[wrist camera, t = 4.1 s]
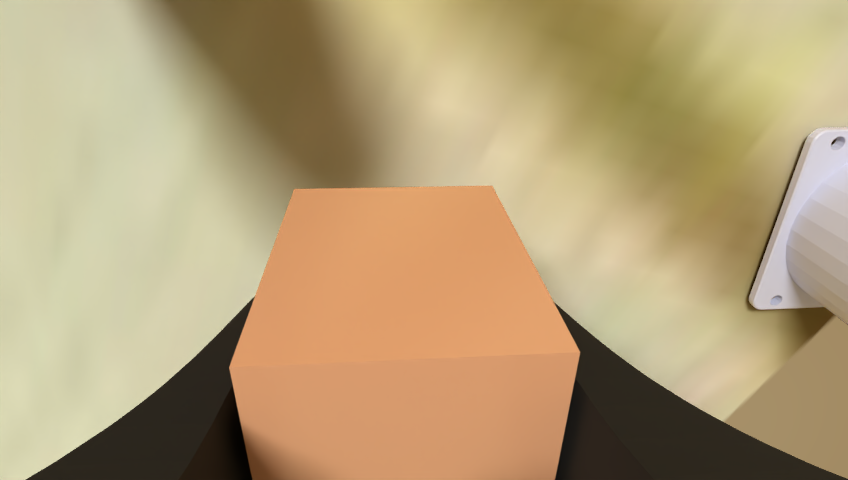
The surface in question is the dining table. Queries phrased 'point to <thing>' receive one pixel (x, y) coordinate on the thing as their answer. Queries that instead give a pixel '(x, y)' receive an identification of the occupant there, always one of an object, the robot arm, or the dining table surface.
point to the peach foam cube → (402, 343)
